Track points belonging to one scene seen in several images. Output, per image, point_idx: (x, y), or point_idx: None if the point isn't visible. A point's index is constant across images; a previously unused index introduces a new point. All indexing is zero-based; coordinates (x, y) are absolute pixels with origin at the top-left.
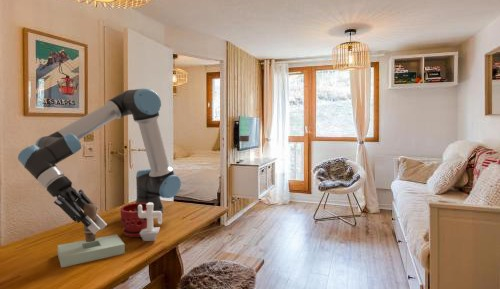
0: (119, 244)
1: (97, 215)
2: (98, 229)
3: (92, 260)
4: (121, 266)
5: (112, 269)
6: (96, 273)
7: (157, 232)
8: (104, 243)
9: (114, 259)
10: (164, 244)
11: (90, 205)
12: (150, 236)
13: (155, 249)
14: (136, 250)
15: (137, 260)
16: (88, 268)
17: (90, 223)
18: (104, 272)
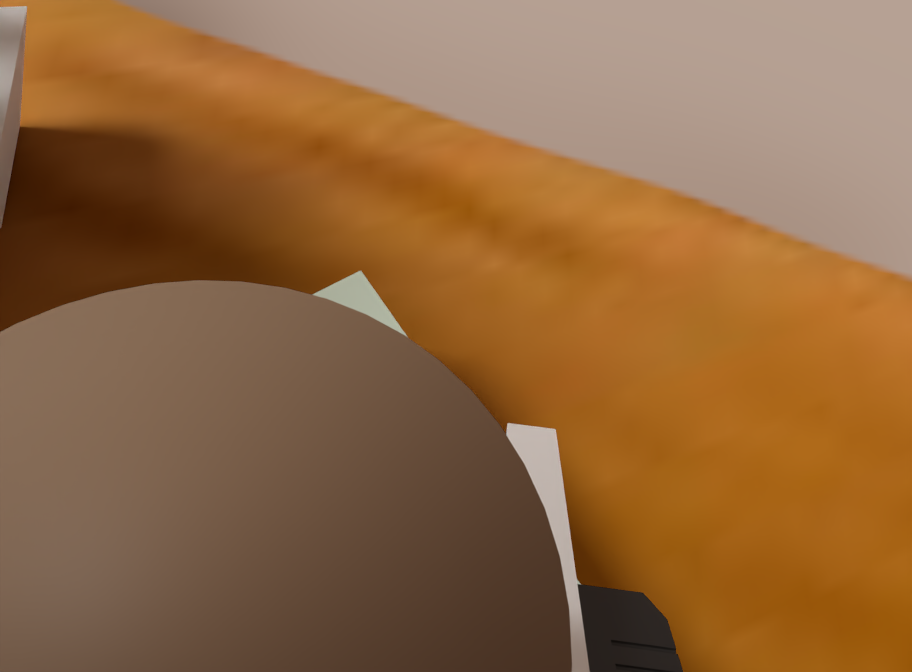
0: None
1: None
2: (555, 445)
3: None
4: (695, 276)
5: (771, 337)
6: (886, 460)
7: (6, 14)
8: None
9: (532, 394)
10: (159, 34)
11: (334, 528)
12: (13, 115)
13: (284, 84)
14: (289, 241)
15: (550, 177)
16: (794, 603)
17: (585, 595)
18: (848, 389)
